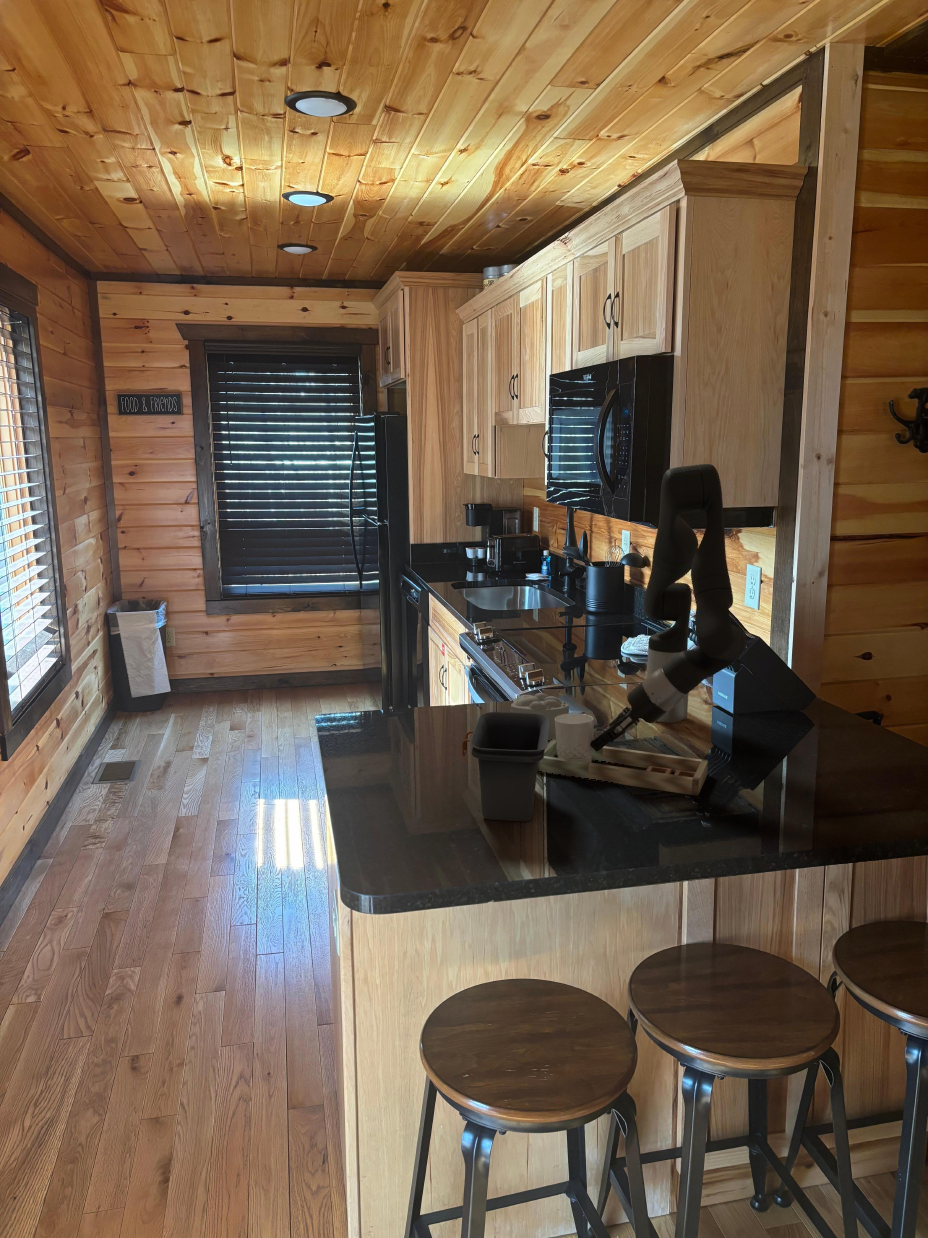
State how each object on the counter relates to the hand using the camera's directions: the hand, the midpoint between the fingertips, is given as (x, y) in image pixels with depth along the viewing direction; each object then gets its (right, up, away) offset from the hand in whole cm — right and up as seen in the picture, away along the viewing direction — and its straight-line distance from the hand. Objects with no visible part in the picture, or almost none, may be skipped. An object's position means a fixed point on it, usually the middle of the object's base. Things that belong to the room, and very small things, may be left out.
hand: (593, 747), depth 181 cm
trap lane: (+5, -5, -1) cm, 7 cm away
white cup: (-4, -4, +2) cm, 6 cm away
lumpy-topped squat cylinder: (-9, -1, +24) cm, 25 cm away
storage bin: (-19, -8, -18) cm, 27 cm away
